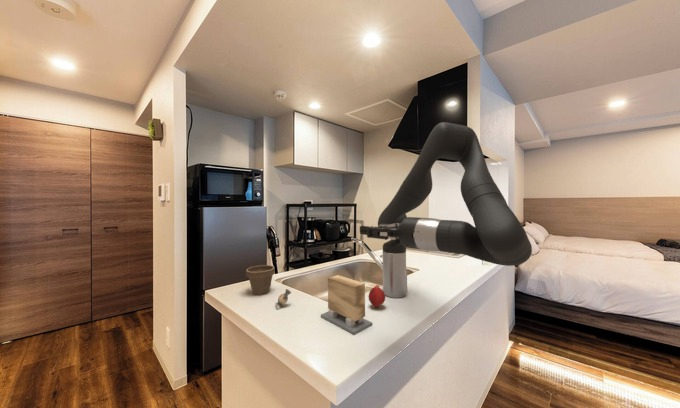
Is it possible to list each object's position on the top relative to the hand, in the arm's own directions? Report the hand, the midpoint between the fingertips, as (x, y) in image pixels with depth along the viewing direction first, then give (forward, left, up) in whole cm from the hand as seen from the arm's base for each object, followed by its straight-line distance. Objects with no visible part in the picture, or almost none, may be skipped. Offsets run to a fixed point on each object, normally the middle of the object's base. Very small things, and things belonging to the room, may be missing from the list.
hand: (370, 228), depth 71 cm
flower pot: (+8, -53, -30) cm, 62 cm away
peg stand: (0, -11, -30) cm, 32 cm away
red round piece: (-15, -10, -30) cm, 35 cm away
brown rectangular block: (0, -10, -27) cm, 29 cm away
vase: (+8, -34, -30) cm, 46 cm away
